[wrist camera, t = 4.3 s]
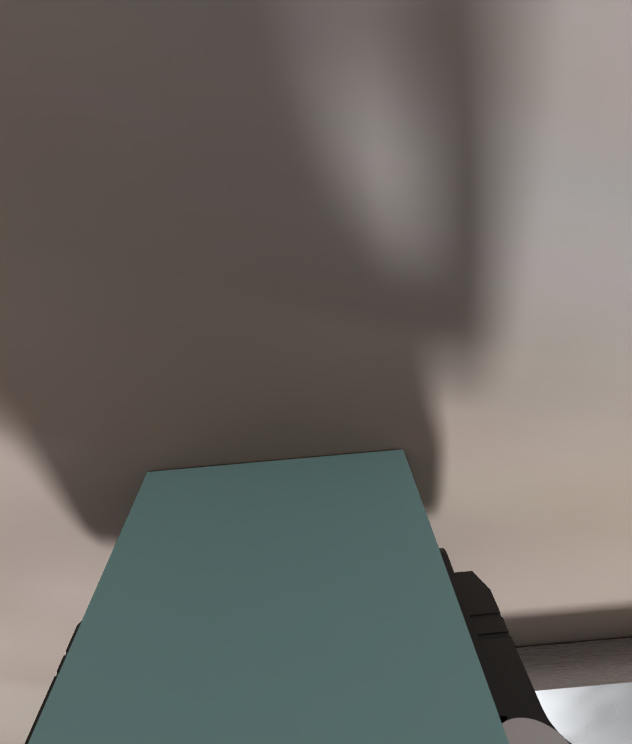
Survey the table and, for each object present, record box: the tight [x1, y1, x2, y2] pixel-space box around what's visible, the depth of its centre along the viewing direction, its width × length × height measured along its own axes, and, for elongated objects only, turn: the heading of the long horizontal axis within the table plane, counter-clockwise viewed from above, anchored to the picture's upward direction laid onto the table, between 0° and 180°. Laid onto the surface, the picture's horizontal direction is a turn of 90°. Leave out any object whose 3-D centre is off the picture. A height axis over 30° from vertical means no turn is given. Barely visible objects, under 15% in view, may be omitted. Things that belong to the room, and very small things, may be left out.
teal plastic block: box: [28, 449, 509, 744], centre depth 9 cm, size 6×6×7 cm
